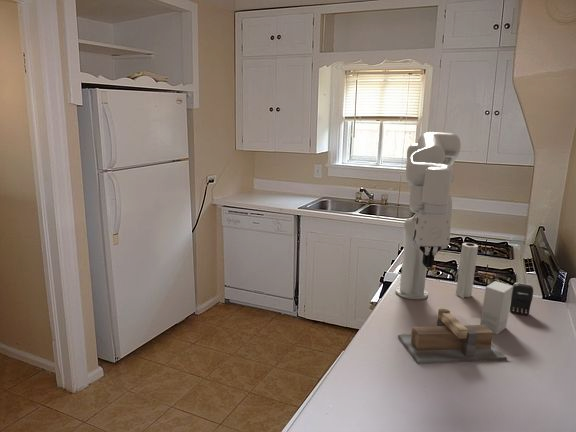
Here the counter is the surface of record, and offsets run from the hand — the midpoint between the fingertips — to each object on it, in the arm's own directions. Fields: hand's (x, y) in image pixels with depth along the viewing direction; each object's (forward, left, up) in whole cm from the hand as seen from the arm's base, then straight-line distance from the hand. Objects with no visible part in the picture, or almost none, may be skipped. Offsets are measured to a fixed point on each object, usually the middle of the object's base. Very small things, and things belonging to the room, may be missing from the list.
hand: (427, 266), depth 144 cm
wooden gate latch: (+5, +8, -25) cm, 27 cm away
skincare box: (-7, +30, -26) cm, 40 cm away
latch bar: (+4, +8, -18) cm, 21 cm away
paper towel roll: (-36, +34, -26) cm, 56 cm away
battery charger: (-18, +47, -26) cm, 56 cm away
